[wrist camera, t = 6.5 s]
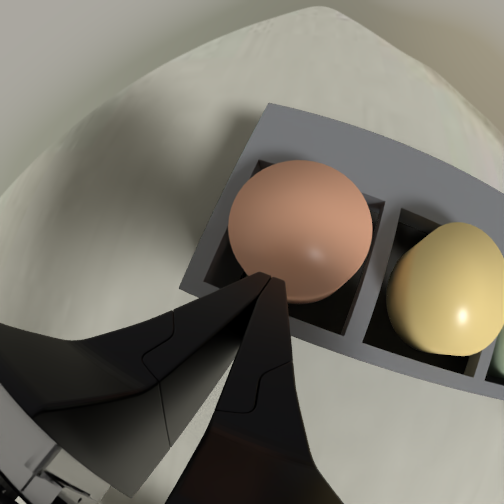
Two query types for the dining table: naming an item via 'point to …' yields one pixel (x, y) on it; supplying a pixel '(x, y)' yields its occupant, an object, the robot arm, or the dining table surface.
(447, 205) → the grey compartment box
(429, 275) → the button ochre
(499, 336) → the button sage
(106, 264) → the dining table surface
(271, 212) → the button terracotta
